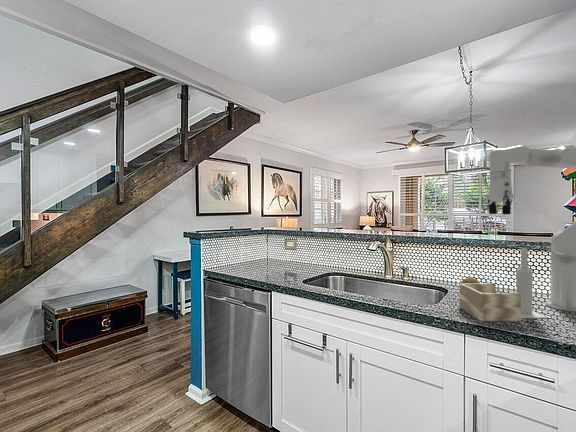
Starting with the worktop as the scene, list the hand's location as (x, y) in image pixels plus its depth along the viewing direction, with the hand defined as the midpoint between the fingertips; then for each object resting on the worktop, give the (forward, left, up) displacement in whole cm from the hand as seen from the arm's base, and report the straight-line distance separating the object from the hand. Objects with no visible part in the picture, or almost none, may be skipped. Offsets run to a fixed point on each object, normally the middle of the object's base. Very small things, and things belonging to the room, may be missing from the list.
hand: (499, 214), depth 143 cm
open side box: (+17, +22, -38) cm, 47 cm away
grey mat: (+4, +22, -38) cm, 44 cm away
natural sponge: (+14, +3, -38) cm, 41 cm away
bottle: (+4, +22, -38) cm, 44 cm away
